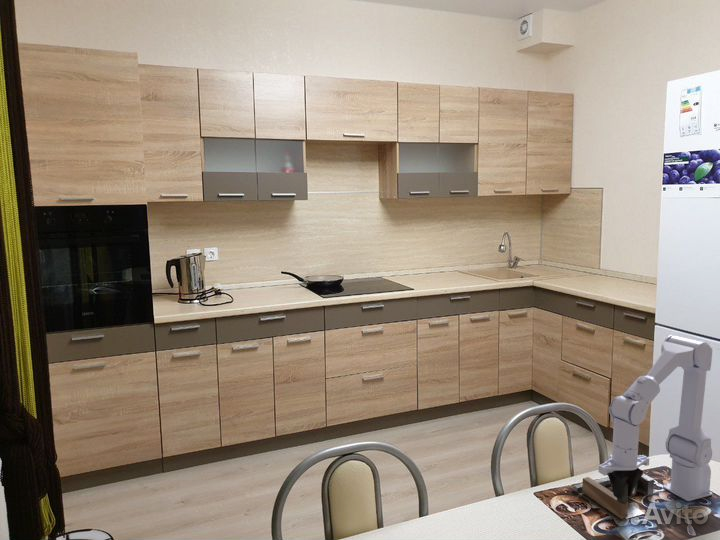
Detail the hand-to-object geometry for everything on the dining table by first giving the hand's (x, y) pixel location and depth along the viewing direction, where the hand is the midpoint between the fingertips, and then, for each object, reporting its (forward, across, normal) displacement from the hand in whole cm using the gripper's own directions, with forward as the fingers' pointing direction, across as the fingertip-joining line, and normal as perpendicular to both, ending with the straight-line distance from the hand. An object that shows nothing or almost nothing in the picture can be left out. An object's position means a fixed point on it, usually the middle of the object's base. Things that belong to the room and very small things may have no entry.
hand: (622, 495), depth 137 cm
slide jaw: (+5, 0, -6) cm, 8 cm away
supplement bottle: (+6, -10, -9) cm, 15 cm away
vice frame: (+6, -8, -7) cm, 12 cm away
